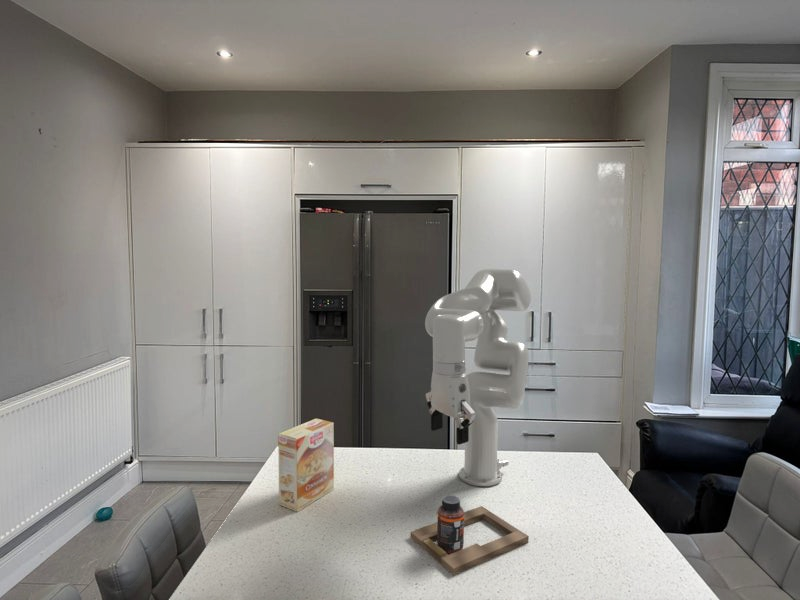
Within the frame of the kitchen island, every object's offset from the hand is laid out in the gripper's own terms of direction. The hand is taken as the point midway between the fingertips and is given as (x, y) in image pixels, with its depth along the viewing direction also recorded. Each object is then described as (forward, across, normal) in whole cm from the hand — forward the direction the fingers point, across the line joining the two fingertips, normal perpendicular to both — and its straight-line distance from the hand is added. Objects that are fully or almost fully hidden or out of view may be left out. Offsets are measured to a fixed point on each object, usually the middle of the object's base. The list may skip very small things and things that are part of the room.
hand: (449, 435), depth 119 cm
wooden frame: (+22, -8, +1) cm, 24 cm away
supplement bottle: (+22, -8, +6) cm, 24 cm away
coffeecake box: (+22, +31, +24) cm, 45 cm away
